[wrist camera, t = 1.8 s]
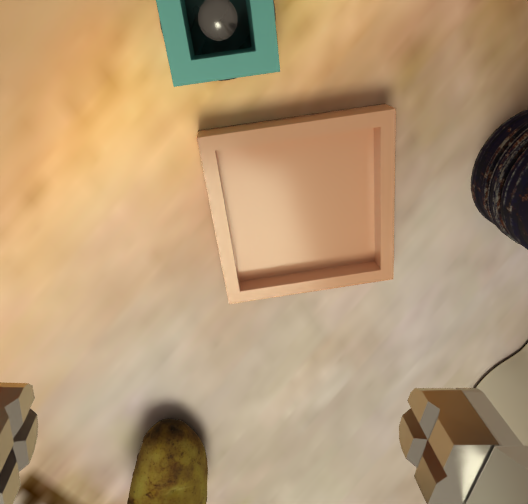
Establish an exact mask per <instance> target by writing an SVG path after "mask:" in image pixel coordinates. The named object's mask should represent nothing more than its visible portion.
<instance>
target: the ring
mask: <svg viewBox="0 0 528 504" xmlns="http://www.w3.org/2000/svg"><path fill="white" fill-rule="evenodd" d="M156 3H157V7H158V12H159V17H160V22H161V27H162V32H163V36H164V41H165V46H166V51H167V56H168V61H169V66H170V70H171V75H172V80H173V85H174V87H175V86H182V85H189V84H196V83H203V82H210V81H217V80H224V79H231V78H238V77H245V76H252V75H259V74H266V73H273V72H280V65H279V55H278V45H277V35H276V25H275V14H274V4H273V0H246V7H247V15H248V23H249V31H250V39H251V48H244V49H237V50H230V51H223V52H216V53H209V54H202V55H194V49H193V44H192V38H191V33H190V27H189V22H188V16H187V11H186V5H185V0H156Z"/></svg>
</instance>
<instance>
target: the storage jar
mask: <svg viewBox="0 0 528 504" xmlns="http://www.w3.org/2000/svg"><path fill="white" fill-rule="evenodd" d="M471 192H472V198H473V200H474V203H475V206H476V207H477V209H478V210H479V212H480V213H481V214H482V215H483V216H484V217H485V218H486V219H487V220H489V221H490V222H492V223H493V224H495V225H496V226H497V227H498V228H499V230H500V231H501V232H502V233H504V234H505V235H506V236H508V237H509V238H510V239H512V240H513V241H515V242H516V243H518V244H521V245H522V246H524V247H525V248H526V249H528V110H525V111H523V112H520V113H519V114H517V115H515V116H513V117H512V118H510V119H509V120H507V121H506V122H505V123H503V124H502V125H501V126H500V127H499V128H498V129H497V130H496V131H495V132H494V133H493V134H492V135H491V136H490V138H489V139H488V140H487V141H486V143H485V144H484V146H483V147H482V149H481V151H480V152H479V155H478V157H477V159H476V161H475V164H474V167H473V171H472V177H471Z"/></svg>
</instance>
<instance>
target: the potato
mask: <svg viewBox="0 0 528 504" xmlns="http://www.w3.org/2000/svg"><path fill="white" fill-rule="evenodd" d="M142 442H143V443H142V446H141V449H140V452H139V454H138V456H137V462H136V466H135V469H134V472H133V478H132V482H131V487H130V492H129V498H128V502H127V504H206V501H207V475H208V467H207V458H206V453H205V449H204V446H203V444H202V442H201V440H200V438H199V437H198V435H197V434H196V433H195V432H194V431H193V430H192V429H191V428H190V427H189V426H188V425H187V424H186V423H184V422H183V421H180V420H176V419H164V420H161V421H159V422H158V423H156V424H155V425H154V426H153V427H152V428H151V429H150V430H149V431H148V432H147V433H146V435H145V436H144V439H143V441H142Z"/></svg>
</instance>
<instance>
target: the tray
mask: <svg viewBox="0 0 528 504" xmlns="http://www.w3.org/2000/svg"><path fill="white" fill-rule="evenodd" d="M395 127H396V109H395V108H393V107H391V106H389V105H387V104H379V105H372V106H366V107H359V108H352V109H345V110H338V111H331V112H324V113H317V114H310V115H304V116H297V117H290V118H283V119H276V120H269V121H262V122H255V123H248V124H241V125H235V126H228V127H221V128H214V129H207V130H200V131H198V134H197V141H198V147H199V152H200V157H201V162H202V167H203V172H204V177H205V183H206V188H207V193H208V198H209V203H210V208H211V214H212V219H213V224H214V229H215V234H216V239H217V245H218V250H219V255H220V260H221V265H222V270H223V276H224V281H225V286H226V291H227V296H228V301H229V304H234V303H241V302H247V301H254V300H260V299H267V298H273V297H280V296H286V295H293V294H299V293H306V292H312V291H319V290H325V289H332V288H338V287H345V286H351V285H358V284H364V283H371V282H377V281H384V280H391V279H393V264H394V196H395Z"/></svg>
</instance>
